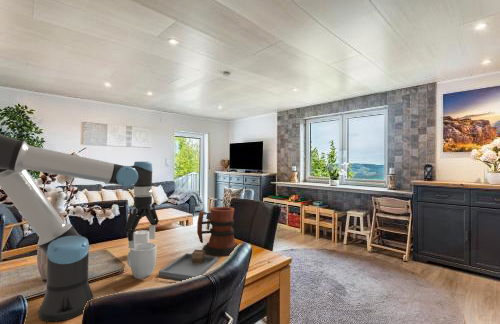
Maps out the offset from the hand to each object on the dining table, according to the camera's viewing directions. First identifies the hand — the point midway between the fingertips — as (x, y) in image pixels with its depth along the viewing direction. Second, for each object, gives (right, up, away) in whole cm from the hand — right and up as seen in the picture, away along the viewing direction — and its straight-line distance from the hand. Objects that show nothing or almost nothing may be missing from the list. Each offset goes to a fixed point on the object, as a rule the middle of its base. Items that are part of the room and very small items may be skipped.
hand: (142, 243), depth 116 cm
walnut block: (+22, -14, +14) cm, 30 cm away
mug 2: (0, -15, 0) cm, 15 cm away
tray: (+20, -15, +6) cm, 26 cm away
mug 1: (-13, -15, +26) cm, 32 cm away
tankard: (+30, -15, +33) cm, 47 cm away
